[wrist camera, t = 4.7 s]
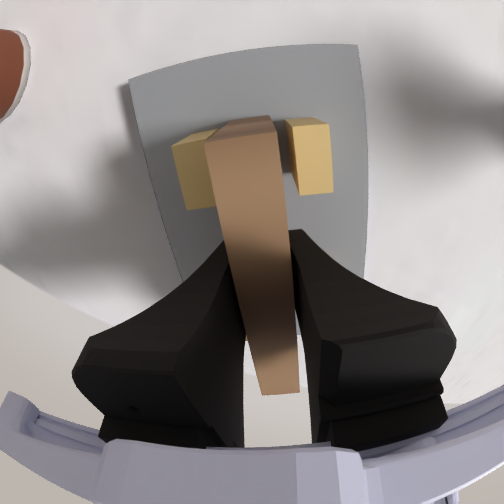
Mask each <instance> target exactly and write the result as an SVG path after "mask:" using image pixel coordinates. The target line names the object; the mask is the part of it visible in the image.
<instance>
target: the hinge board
mask: <svg viewBox="0 0 504 504" xmlns="http://www.w3.org/2000/svg"><path fill="white" fill-rule="evenodd" d="M129 86H130V91H131V96H132V101H133V106H134V111H135V116H136V120H137V125H138V129H139V133H140V138H141V142H142V146H143V150H144V154H145V158H146V162H147V166H148V170H149V174H150V178H151V181H152V185H153V188H154V192H155V196H156V199H157V203H158V206H159V209H160V213H161V216H162V220H163V223H164V226H165V229H166V233H167V236H168V239H169V242H170V245H171V248H172V251H173V254H174V257H175V260H176V263H177V266H178V269H179V272H180V275H181V278H182V281H183V282H184V281H185V280H186V279H187V278H189V277H190V276H191V275H192V274H193V273H194V272H195V271H196V270H197V269H198V268H199V267H200V266H201V265H202V264H203V263H204V262H205V260H206V259H207V258H208V257H209V256H210V255H211V254H212V253H213V252H214V250H215V249H216V248H217V247H218V246H219V245H220V244H221V242H222V241H223V240H224V238H223V233H222V229H221V224H220V220H219V215H218V210H217V206H216V201H215V197H214V192H213V187H212V182H211V178H210V173H209V168H208V163H207V158H206V153H205V148H204V142H205V141H206V140H208V139H209V138H210V137H211V136H212V135H214V134H215V133H216V132H217V131H218V130H220V129H221V128H222V127H223V126H225V125H226V124H227V123H228V122H230V121H231V120H236V119H243V118H250V117H257V116H265V115H269V116H270V118H271V120H272V122H273V124H274V127H275V129H276V131H277V137H278V145H279V152H280V160H281V168H282V177H283V185H284V194H285V203H286V212H287V222H288V230H295V229H303V230H304V231H305V232H306V233H307V235H308V236H309V237H310V238H311V239H312V240H313V241H314V242H315V243H316V244H317V245H318V246H319V247H320V248H321V249H322V250H324V251H325V252H326V253H327V254H328V255H329V256H330V257H331V258H333V259H334V260H335V261H336V262H338V263H339V264H340V265H342V266H343V267H345V268H346V269H348V270H349V271H351V272H352V273H354V274H356V275H357V276H359V277H361V278H362V279H363V277H364V266H365V254H366V239H367V219H368V145H367V126H366V111H365V100H364V90H363V81H362V72H361V65H360V58H359V51H358V45H348V44H307V45H288V46H276V47H266V48H257V49H250V50H243V51H236V52H230V53H225V54H219V55H214V56H209V57H205V58H200V59H196V60H192V61H188V62H184V63H180V64H176V65H172V66H169V67H165V68H162V69H159V70H155V71H152V72H149V73H146V74H143V75H140V76H137V77H134V78H132V79H129ZM295 316H296V331H297V335H301V333H300V328H299V324H298V319H297V315H296V311H295ZM245 341H248V339H247V335H246V339H245Z"/></svg>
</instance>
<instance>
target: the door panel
mask: <svg viewBox="0 0 504 504" xmlns="http://www.w3.org/2000/svg"><path fill="white" fill-rule="evenodd" d="M204 148H205V153H206V158H207V163H208V168H209V173H210V178H211V182H212V187H213V192H214V197H215V201H216V206H217V210H218V215H219V220H220V224H221V229H222V233H223V238H224V242H225V247H226V251H227V255H228V260H229V264H230V268H231V273H232V277H233V281H234V285H235V290H236V294H237V298H238V302H239V306H240V311H241V315H242V319H243V323H244V327H245V331H246V335H247V339H248V343H249V347H250V351H251V355H252V359H253V363H254V367H255V371H256V374H257V378H258V382H259V386H260V390H261V393H262V395H276V394H288V393H298V392H300V390H299V366H298V348H297V331H296V316H295V302H294V288H293V276H292V264H291V253H290V242H289V232H288V222H287V212H286V203H285V194H284V185H283V177H282V168H281V160H280V152H279V145H278V137H277V131H276V129H275V127H274V124H273V122H272V120H271V118H270V116H269V115H265V116H257V117H250V118H243V119H236V120H231V121H230V122H228V123H227V124H226V125H225V126H223V127H222V128H221V129H220V130H218V131H217V132H216V133H215V134H214V135H212V136H211V137H210V138H209V139H208V140H206V141H205V142H204Z"/></svg>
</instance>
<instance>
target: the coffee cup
mask: <svg viewBox="0 0 504 504" xmlns="http://www.w3.org/2000/svg"><path fill="white" fill-rule="evenodd" d="M30 66H31V60H30V45H29V43H28V40H27V38H26V36H25V35H24V34H22V33H20V32H19V31H11V30H3V29H0V121H2V120H3V119H5V118H6V117H8V116H10V115H11V113H12V112H13V110H14V109H15V108H16V106H17V105H18V103H19V102H20V99H21V97H22V94H23V92H24V90H25V87H26V85H27V80H28V75H29V70H30Z"/></svg>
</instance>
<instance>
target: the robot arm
mask: <svg viewBox="0 0 504 504" xmlns="http://www.w3.org/2000/svg"><path fill="white" fill-rule="evenodd" d="M288 232H289V242H290V253H291V264H292V276H293V288H294V302H295V311H296V315H297V319H298V324H299V328H300V333H301V337H302V341H303V347H304V353H305V362H306V372H307V382H308V393H309V405H310V417H311V433H312V444H304V445H293V446H279V447H258V448H257V447H256V448H244V416H243V362H244V347H245V339H246V331H245V327H244V323H243V319H242V315H241V311H240V306H239V302H238V298H237V294H236V290H235V285H234V281H233V277H232V273H231V268H230V264H229V260H228V255H227V251H226V247H225V242H224V240H223V241H222V242H221V244H220V245H219V246H218V247H217V248H216V249H215V250H214V252H213V253H212V254H211V255H210V256H209V257H208V258H207V259H206V260H205V262H204V263H203V264H202V265H201V266H200V267H199V268H198V269H197V270H196V271H195V272H194V273H193V274H192V275H191V276H190V277H189V278H187V279H186V280H185V281H184V282H183V283H182V284H181V285H179V286H178V287H177V288H176V289H174V290H173V291H172V292H171V293H169V294H168V295H167V296H165V297H164V298H162V299H161V300H159V301H158V302H157V303H155V304H154V305H152V306H151V307H149V308H148V309H146V310H144V311H143V312H141V313H139V314H138V315H136V316H134V317H132V318H130V319H128V320H127V321H125V322H123V323H121V324H119V325H117V326H114V327H112V328H110V329H108V330H105V331H103V332H101V333H98V334H96V335H93V336H91V337H89V338H88V340H87V342H86V344H85V346H84V348H83V350H82V352H81V354H80V356H79V358H78V360H77V362H76V364H75V366H74V368H73V370H72V378H73V380H74V383H75V384H76V387H77V388H78V389H79V390H80V392H81V393H82V394H83V395H84V396H85V397H86V398H87V399H88V400H89V401H90V402H91V403H92V404H93V405H94V406H95V407H96V408H97V409H98V410H100V412H102V413H103V414H104V415H105V416H104V419H103V422H102V425H101V428H100V430H97V429H94V428H90V427H86V426H83V425H80V424H76V423H73V422H70V421H67V420H64V419H61V418H58V417H55V416H52V415H49V414H47V413H44V412H41V411H39V409H38V408H37V407H36V406H35V405H34V404H33V403H31V402H30V401H29V400H28V399H26V398H25V397H23V396H20V395H18V394H16V393H13V392H11V391H8V393H7V395H6V397H5V399H4V401H3V403H2V405H1V408H0V450H2V451H3V452H5V453H6V454H7V455H9V456H11V457H12V458H13V459H15V460H16V461H18V462H19V463H21V464H22V465H24V466H25V467H27V468H28V469H30V470H31V471H33V472H35V473H36V474H38V475H40V476H41V477H43V478H45V479H47V480H48V481H50V482H52V483H54V484H56V485H58V486H60V487H61V488H64V489H65V490H67V491H70V492H72V493H74V494H76V495H78V496H80V497H82V498H85V499H87V500H89V501H92V502H93V503H94V504H459V496H458V490H460V489H462V488H464V487H466V486H468V485H470V484H471V483H473V482H475V481H477V480H479V479H480V478H482V477H484V476H485V475H487V474H489V473H490V472H492V471H494V470H495V469H497V468H498V467H500V466H502V465H503V464H504V385H502V386H500V387H498V388H497V389H495V390H493V391H491V392H489V393H487V394H485V395H482V396H480V397H478V398H476V399H474V400H472V401H469V402H467V403H465V404H462V405H460V406H458V407H455V408H453V409H450V410H448V411H446V410H445V407H444V404H443V401H442V399H441V396H440V395H441V394H442V393H443V390H444V388H443V386H442V383H441V381H440V378H441V376H442V374H443V373H444V371H445V369H446V368H447V366H448V364H449V362H450V361H451V359H452V356H453V354H454V351H455V349H456V337H455V335H454V333H453V331H452V330H451V328H450V326H449V324H448V322H447V320H446V319H445V317H444V316H443V314H442V313H441V311H440V310H439V309H438V307H435V306H432V305H428V304H425V303H421V302H418V301H414V300H411V299H408V298H405V297H402V296H400V295H397V294H394V293H392V292H389V291H387V290H385V289H382V288H380V287H378V286H376V285H374V284H372V283H370V282H368V281H366V280H364V279H362V278H361V277H359V276H357V275H356V274H354V273H352V272H351V271H349V270H348V269H346V268H345V267H343V266H342V265H340V264H339V263H338V262H336V261H335V260H334V259H333V258H331V257H330V256H329V255H328V254H327V253H326V252H325V251H324V250H322V249H321V248H320V247H319V246H318V245H317V244H316V243H315V242H314V241H313V240H312V239H311V238H310V237H309V236H308V235H307V233H306V232H305V231H304V230H303V229H295V230H288Z"/></svg>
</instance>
